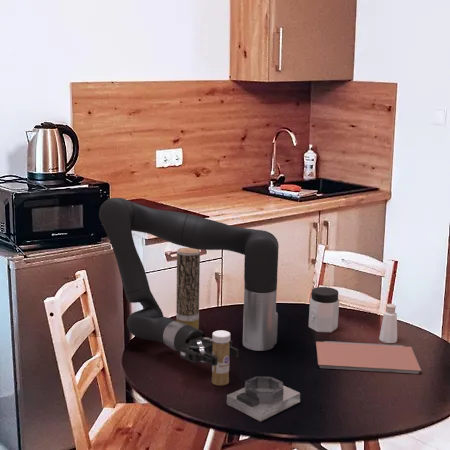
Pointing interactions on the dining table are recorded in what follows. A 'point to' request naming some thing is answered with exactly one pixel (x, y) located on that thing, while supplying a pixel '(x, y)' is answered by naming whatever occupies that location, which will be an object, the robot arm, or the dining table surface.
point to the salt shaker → (389, 325)
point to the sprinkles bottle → (221, 357)
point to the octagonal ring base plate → (263, 397)
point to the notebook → (367, 357)
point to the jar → (324, 309)
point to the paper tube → (188, 286)
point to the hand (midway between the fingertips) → (227, 357)
